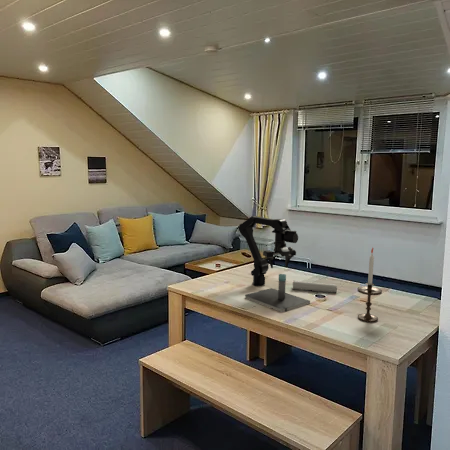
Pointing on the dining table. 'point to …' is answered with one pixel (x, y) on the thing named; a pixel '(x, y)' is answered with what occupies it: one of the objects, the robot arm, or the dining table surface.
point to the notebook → (276, 300)
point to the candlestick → (369, 293)
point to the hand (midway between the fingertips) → (279, 267)
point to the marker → (281, 286)
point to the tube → (314, 286)
